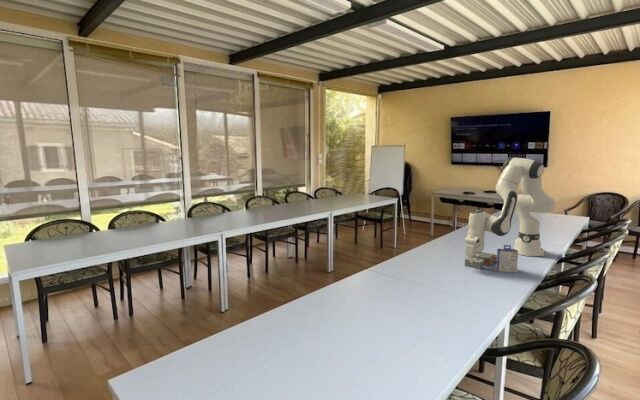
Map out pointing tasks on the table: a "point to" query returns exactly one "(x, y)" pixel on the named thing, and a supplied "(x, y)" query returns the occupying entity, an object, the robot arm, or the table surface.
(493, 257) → the wooden tray
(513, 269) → the ink cartridge box
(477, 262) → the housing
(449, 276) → the table surface
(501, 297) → the table surface
